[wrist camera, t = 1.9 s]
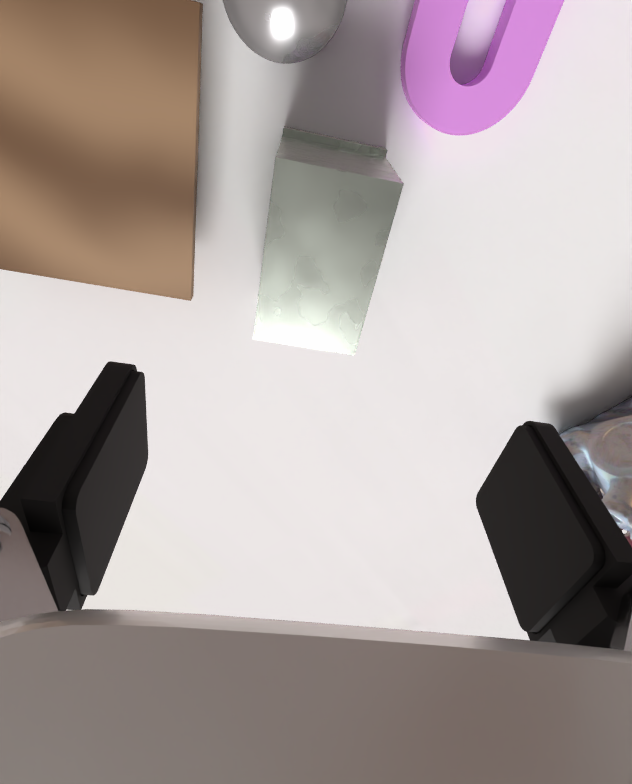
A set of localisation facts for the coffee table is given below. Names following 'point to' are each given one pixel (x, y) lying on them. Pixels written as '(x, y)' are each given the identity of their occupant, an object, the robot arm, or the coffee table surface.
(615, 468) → the brake caliper
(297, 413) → the coffee table surface
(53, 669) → the robot arm
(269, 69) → the coffee table surface
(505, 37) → the bracket
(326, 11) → the knob
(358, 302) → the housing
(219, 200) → the coffee table surface
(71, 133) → the stand
